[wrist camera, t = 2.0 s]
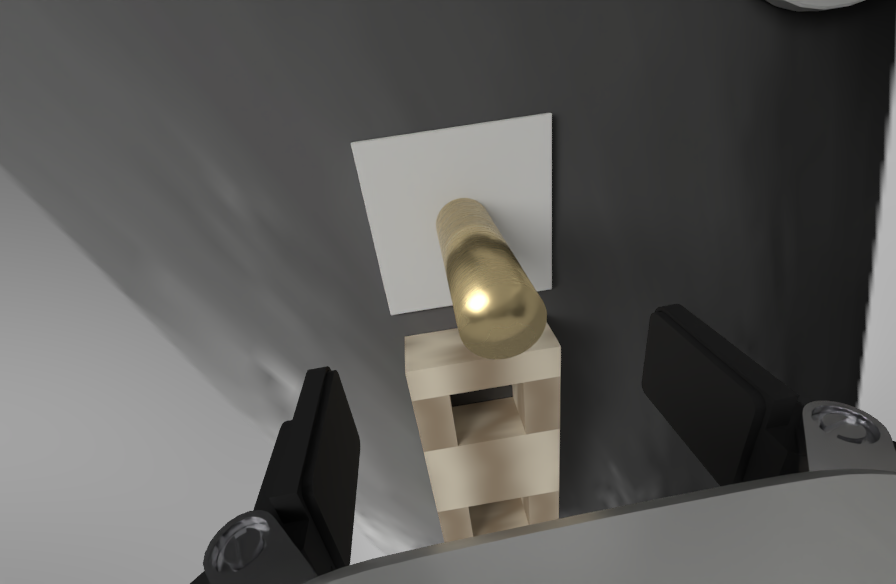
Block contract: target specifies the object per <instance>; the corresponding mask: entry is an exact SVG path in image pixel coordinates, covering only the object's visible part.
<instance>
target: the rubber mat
mask: <svg viewBox="0 0 896 584" xmlns="http://www.w3.org/2000/svg"><path fill="white" fill-rule="evenodd" d="M351 147H352V151H353V155H354V160H355V164H356V168H357V172H358V177H359V181H360V185H361V190H362V194H363V198H364V202H365V207H366V211H367V215H368V220H369V224H370V228H371V232H372V237H373V241H374V245H375V249H376V254H377V258H378V262H379V267H380V271H381V275H382V279H383V284H384V288H385V292H386V297H387V301H388V305H389V309H390V314H391V315H395V314H401V313H407V312H414V311H420V310H426V309H432V308H438V307H444V306H451V305H453V304H452V299H451V295H450V290H449V285H448V281H447V276H446V272H445V267H444V263H443V258H442V254H441V249H440V245H439V240H438V235H437V231H436V220H437V216H438V214H439V212H440V210H441V209H442V208H443V207H444V206H445V205H446V204H447V203H449V202H450V201H452V200H455V199H458V198H470V199H474V200H476V201H478V202H479V203H481V204H482V205H483V206H484V207H485V209H486V210H487V212H488V214H489V215H490V217H491V218H492V220H493V222H494V223H495V225H496V226H497V228H498V230H499V231H500V233H501V235H502V236H503V238H504V239H505V241H506V243H507V244H508V246H509V247H510V249H511V251H512V252H513V254H514V256H515V257H516V259H517V260H518V262H519V264H520V265H521V267H522V269H523V270H524V272H525V273H526V275H527V277H528V278H529V280H530V281H531V283H532V285H533V286H534V288H535V290H536V291H543V290H549V289H552V113H544V114H537V115H530V116H524V117H517V118H510V119H504V120H497V121H491V122H484V123H477V124H471V125H464V126H457V127H451V128H444V129H437V130H431V131H424V132H417V133H411V134H404V135H397V136H391V137H384V138H377V139H371V140H364V141H357V142H352V143H351Z"/></svg>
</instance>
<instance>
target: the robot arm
mask: <svg viewBox="0 0 896 584" xmlns="http://www.w3.org/2000/svg"><path fill="white" fill-rule="evenodd" d="M766 1H767V2H769V3H771V4H772V5H774V6H776V7H781V8H785V9H789V10H793V11H797V12H798V11H823V10H828V9H834V8H839V7H845V6H851V5H853V4H856V3H859V2H862V1H864V0H766ZM642 388H643V391H644V393H645V394H646V396H647V397H648V398H649V399H650V401H651V402H652V403H653V404H654V405H655V407H656V408H657V409H658V410H659V412H660V413H661V414H662V415H663V416H664V418H665V419H666V420H667V421H668V423H669V424H670V425H671V426H672V428H673V429H674V430H675V431H676V432H677V434H678V435H679V436H680V437H681V439H682V440H683V441H684V442H685V443H686V445H687V446H688V447H689V448H690V450H691V451H692V452H693V453H694V454H695V456H696V457H697V458H698V459H699V461H700V462H701V463H702V464H703V466H704V467H705V468H706V469H707V470H708V472H709V473H710V474H711V475H712V477H713V478H714V479H715V480H716V481H717V483H718V484H719V485H720V486H721V487H716V488H711V489H706V490H701V491H696V492H691V493H686V494H681V495H676V496H670V497H665V498H660V499H655V500H650V501H645V502H640V503H635V504H630V505H625V506H620V507H615V508H610V509H605V510H600V511H595V512H591V513H586V514H581V515H576V516H571V517H566V518H561V519H556V520H551V521H546V522H541V523H537V524H532V525H527V526H522V527H517V528H512V529H508V530H503V531H498V532H493V533H488V534H484V535H479V536H474V537H469V538H465V539H460V540H455V541H450V542H445V543H441V544H436V545H431V546H427V547H423V548H418V549H414V550H409V551H405V552H401V553H396V554H392V555H387V556H383V557H379V558H375V559H371V560H367V561H364V562H360V563H356V564H353V565H349V564H350V556H351V545H352V534H353V523H354V512H355V501H356V490H357V479H358V468H359V456H360V439H359V435H358V432H357V429H356V426H355V423H354V420H353V417H352V413H351V410H350V407H349V404H348V401H347V398H346V395H345V392H344V389H343V386H342V383H341V380H340V377H339V374H338V372H337V370H334V371H331V369H330V368H329V367H328V366H327V367H322V368H316V369H311V370H308V371H307V373H306V377H305V380H304V383H303V387H302V390H301V393H300V397H299V400H298V403H297V407H296V410H295V413H294V417H293V420H291V421H285V422H284V423H283V424H282V426H281V428H280V431H279V434H278V437H277V440H276V443H275V446H274V449H273V452H272V456H271V458H270V461H269V465H268V468H267V471H266V474H265V477H264V480H263V483H262V486H261V489H260V492H259V495H258V498H257V501H256V504H255V507H254V510H253V511H249V512H246V513H244V514H241V515H239V516H237V517H236V518H234V519H232V520H231V521H229V522H228V523H227V524H226V525H225V526H223V527H222V528H221V529H220V530H219V531H218V532H217V534H216V535H215V536H214V538H213V539H212V540H211V542H210V544H209V546H208V548H207V550H206V552H205V556H204V562H203V565H204V570H205V571H204V572H203V573H201V574H200V575H199V576H198V577H197V578H196V579H195V580H194V581H193V582H191V583H190V584H896V442H895V441H892V438H891V436H890V434H889V432H888V431H887V429H886V427H885V426H884V425H882V423H880V422H879V421H878V420H877V419H875V418H874V417H872V416H871V415H869V414H868V413H866V412H864V411H861V410H859V409H857V408H855V407H853V406H849V405H846V404H843V403H839V402H833V401H814V402H811V403H808V404H807V405H806V406H804V405H802V404H801V403H800V402H798V401H797V400H798V397H799V395H798V394H797V393H795V392H794V391H793V390H791V389H790V388H789V387H787V386H786V385H785V384H784V383H782V382H781V381H780V380H778V379H777V378H776V377H774V376H773V375H772V374H770V373H769V372H768V371H767V370H765V369H764V368H763V367H761V366H760V365H759V364H757V363H756V362H755V361H753V360H752V359H751V358H750V357H748V356H747V355H746V354H744V353H743V352H742V351H740V350H739V349H738V348H736V347H735V346H734V345H733V344H731V343H730V342H729V341H727V340H726V339H725V338H723V337H722V336H721V335H719V334H718V333H717V332H716V331H714V330H713V329H712V328H710V327H709V326H708V325H706V324H705V323H704V322H702V321H701V320H700V319H699V318H697V317H696V316H695V315H693V314H692V313H691V312H689V311H688V310H687V309H686V308H684V307H683V306H681V305H680V304H673V305H668V306H662V307H658V308H657V309H656V310H655V313H652V314H651V316H650V322H649V330H648V338H647V345H646V353H645V361H644V369H643V376H642Z"/></svg>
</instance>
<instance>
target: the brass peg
mask: <svg viewBox="0 0 896 584" xmlns="http://www.w3.org/2000/svg"><path fill="white" fill-rule="evenodd" d="M436 231H437V235H438V240H439V245H440V249H441V254H442V258H443V263H444V267H445V272H446V276H447V281H448V285H449V290H450V295H451V299H452V304H453V308H454V313H455V317H456V322H457V326H458V331H459V335H460V338H461V340H462V342H463V344H464V345H465V346H466V347H467V348H468V349H469V350H470V351H471V352H472V353H474V354H476V355H478V356H480V357H483V358H487V359H507V358H511V357H514V356H517V355H519V354H521V353H523V352H525V351H527V350H528V349H529V348H531V347H532V346H533V345H534V344H535V343H536V342H537V341H538V340H539V338H540V337H541V335H542V333H543V331H544V329H545V326H546V322H547V311H546V307H545V305H544V303H543V301H542V299H541V298H540V296H539V294H538V293H537V291H536V290H535V288H534V286H533V285H532V283H531V281H530V280H529V278H528V277H527V275H526V273H525V272H524V270H523V269H522V267H521V265H520V264H519V262H518V260H517V259H516V257H515V256H514V254H513V252H512V251H511V249H510V247H509V246H508V244H507V243H506V241H505V239H504V238H503V236H502V235H501V233H500V231H499V230H498V228H497V226H496V225H495V223H494V222H493V220H492V218H491V217H490V215H489V214H488V212H487V210H486V209H485V207H484V206H483V205H482V204H481V203H479V202H478V201H476V200H474V199H470V198H458V199H455V200H452V201H450V202H449V203H447V204H446V205H445V206H444V207H443V208H442V209H441V210H440V212H439V214H438V216H437V220H436Z"/></svg>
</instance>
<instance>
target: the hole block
mask: <svg viewBox="0 0 896 584" xmlns="http://www.w3.org/2000/svg"><path fill="white" fill-rule="evenodd" d="M405 373H406V378H407V382H408V386H409V391H410V395H411V399H412V404H413V408H414V412H415V417H416V421H417V425H418V429H419V434H420V438H421V442H422V447H423V451H424V455H425V460H426V464H427V468H428V473H429V477H430V481H431V485H432V490H433V494H434V498H435V503H436V507H437V511H438V516H439V520H440V524H441V529H442V533H443V537H444V541H445V542H450V541H455V540H460V539H465V538H469V537H474V536H479V535H484V534H488V533H493V532H498V531H503V530H508V529H512V528H517V527H522V526H527V525H532V524H537V523H541V522H546V521H551V520H556V519H559V455H560V381H561V346H560V344H559V342H558V340H557V339H556V337H555V335H554V334H553V332H552V330H551V328H550V327H549V325H548V323H547V322H546V326H545V329H544V331H543V333H542V335H541V337H540V338H539V340H538V341H537V342H536V343H535V344H534V345H533V346H532V347H531V348H529V349H528V350H527V351H525V352H523V353H521V354H519V355H517V356H514V357H511V358H507V359H487V358H483V357H480V356H478V355H476V354H474V353H472V352H471V351H470V350H469V349H468V348H467V347H466V346H465V345H464V344H463V342H462V340H461V338H460V335H459V331H458V328H455V329H449V330H443V331H437V332H430V333H424V334H418V335H412V336H406V337H405ZM506 385H512V388H513V397H509V398H503V399H497V400H491V401H485V402H479V403H473V404H467V405H462V406H456V407H452V403H451V397H450V395H452V394H458V393H464V392H470V391H476V390H482V389H488V388H494V387H500V386H506Z"/></svg>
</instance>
